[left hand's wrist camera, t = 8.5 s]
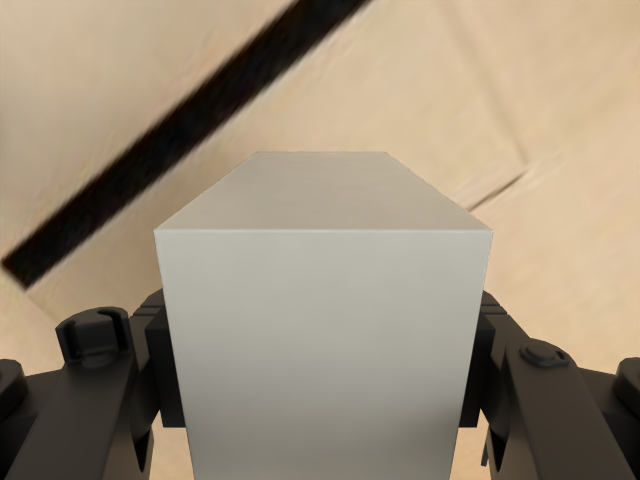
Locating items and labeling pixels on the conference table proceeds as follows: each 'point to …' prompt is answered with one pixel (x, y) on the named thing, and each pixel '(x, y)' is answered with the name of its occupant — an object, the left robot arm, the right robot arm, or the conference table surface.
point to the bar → (322, 318)
